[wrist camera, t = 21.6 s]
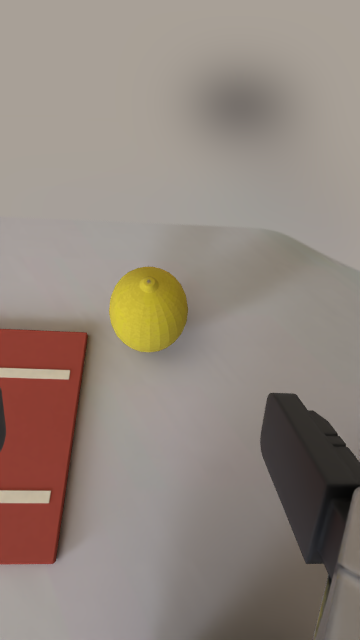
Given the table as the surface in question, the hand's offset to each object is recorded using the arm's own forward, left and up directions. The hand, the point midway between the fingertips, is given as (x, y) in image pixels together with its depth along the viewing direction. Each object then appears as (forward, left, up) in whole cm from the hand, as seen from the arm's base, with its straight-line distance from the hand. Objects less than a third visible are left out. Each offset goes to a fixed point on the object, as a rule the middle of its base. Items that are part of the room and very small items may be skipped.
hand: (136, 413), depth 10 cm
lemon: (0, -9, -15) cm, 17 cm away
